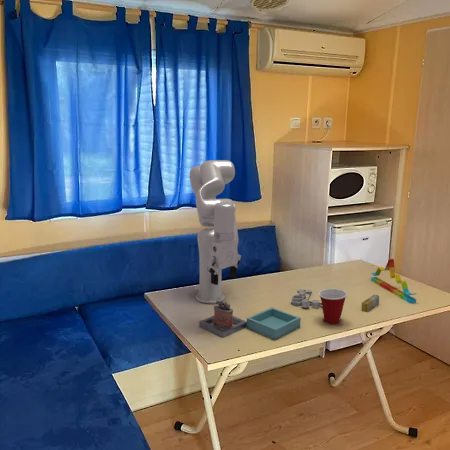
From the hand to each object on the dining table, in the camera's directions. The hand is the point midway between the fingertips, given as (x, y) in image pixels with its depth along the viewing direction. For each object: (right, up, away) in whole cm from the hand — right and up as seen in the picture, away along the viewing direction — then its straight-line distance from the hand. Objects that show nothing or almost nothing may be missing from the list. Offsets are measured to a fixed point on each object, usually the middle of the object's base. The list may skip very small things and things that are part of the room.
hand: (223, 280), depth 178 cm
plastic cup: (+42, -17, +10) cm, 47 cm away
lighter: (0, -18, +5) cm, 19 cm away
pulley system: (+36, -13, +29) cm, 48 cm away
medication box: (+62, -14, +24) cm, 68 cm away
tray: (+19, -18, +4) cm, 27 cm away
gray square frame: (0, -18, +5) cm, 19 cm away
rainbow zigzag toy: (+78, -10, +43) cm, 90 cm away
